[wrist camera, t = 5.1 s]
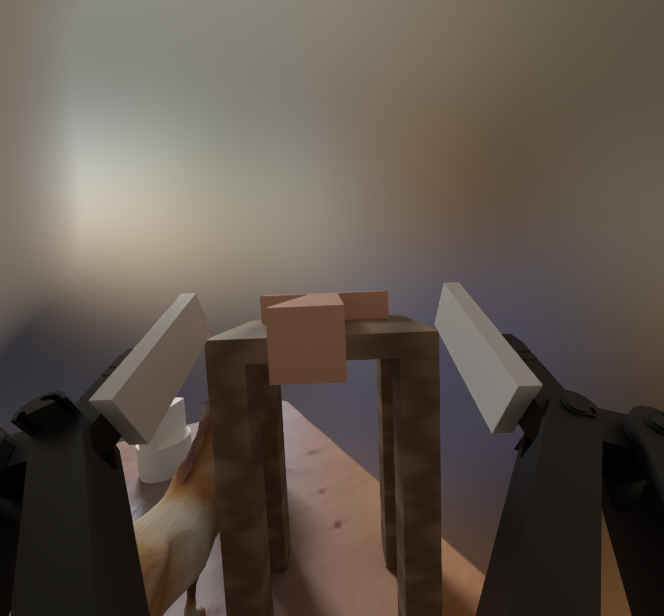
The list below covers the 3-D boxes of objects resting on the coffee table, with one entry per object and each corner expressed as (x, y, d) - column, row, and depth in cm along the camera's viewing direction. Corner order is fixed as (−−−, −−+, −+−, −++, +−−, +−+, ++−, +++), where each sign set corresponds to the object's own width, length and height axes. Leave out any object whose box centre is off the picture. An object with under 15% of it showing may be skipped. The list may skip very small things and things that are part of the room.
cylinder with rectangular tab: (163, 451, 57) (158, 397, 56) (202, 452, 56) (197, 397, 55) (126, 482, 48) (119, 418, 47) (171, 484, 47) (165, 419, 46)
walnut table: (232, 684, 23) (204, 340, 20) (267, 547, 35) (252, 320, 32) (442, 679, 22) (439, 330, 20) (404, 542, 34) (399, 314, 32)
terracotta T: (129, 390, 10) (120, 314, 10) (268, 319, 32) (266, 295, 32) (490, 376, 10) (490, 298, 10) (383, 315, 32) (382, 290, 32)
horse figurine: (230, 526, 38) (219, 387, 36) (281, 533, 37) (272, 389, 35) (-374, 1500, 8) (-611, 918, 6) (-210, 1766, 6) (-462, 1098, 4)
